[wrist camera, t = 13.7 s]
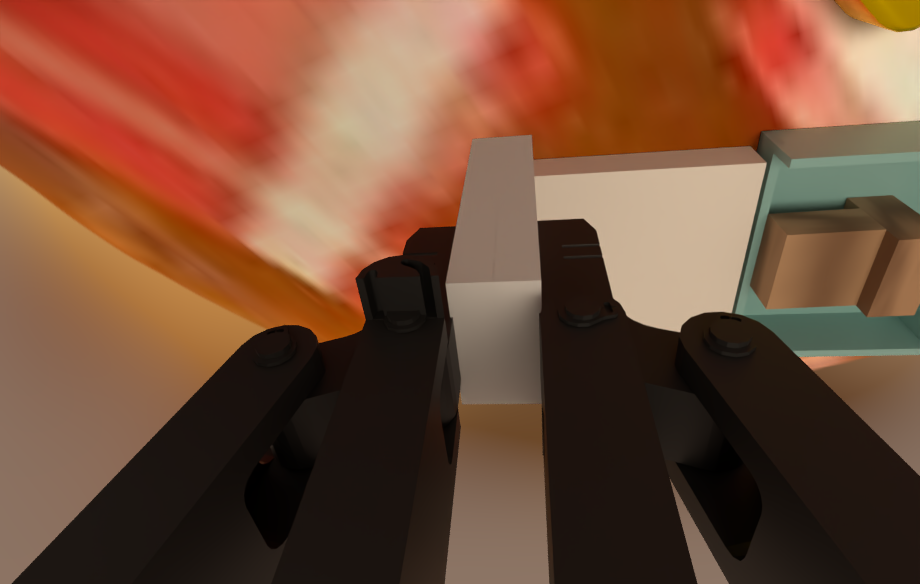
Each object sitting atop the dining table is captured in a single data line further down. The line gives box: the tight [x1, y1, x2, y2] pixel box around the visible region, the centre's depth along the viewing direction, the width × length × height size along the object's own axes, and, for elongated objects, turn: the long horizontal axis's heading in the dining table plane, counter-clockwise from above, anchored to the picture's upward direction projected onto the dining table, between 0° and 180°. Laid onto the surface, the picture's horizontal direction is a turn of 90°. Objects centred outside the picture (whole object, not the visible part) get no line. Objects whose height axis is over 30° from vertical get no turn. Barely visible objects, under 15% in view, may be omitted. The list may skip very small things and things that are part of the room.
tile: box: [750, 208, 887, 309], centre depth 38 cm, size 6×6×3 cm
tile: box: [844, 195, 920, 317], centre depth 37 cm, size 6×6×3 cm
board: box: [533, 146, 767, 332], centre depth 41 cm, size 17×14×3 cm
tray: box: [732, 121, 920, 357], centre depth 38 cm, size 14×16×5 cm
